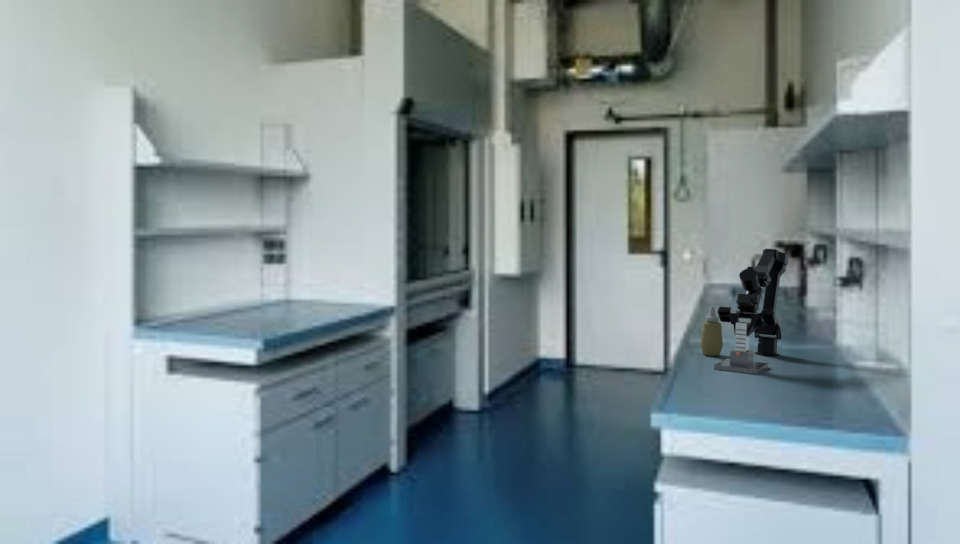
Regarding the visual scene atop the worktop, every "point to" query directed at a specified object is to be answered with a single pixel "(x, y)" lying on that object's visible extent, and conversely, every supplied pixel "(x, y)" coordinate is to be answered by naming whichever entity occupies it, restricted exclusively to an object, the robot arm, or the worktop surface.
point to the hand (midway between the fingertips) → (741, 335)
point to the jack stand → (741, 363)
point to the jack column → (742, 337)
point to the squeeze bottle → (711, 335)
